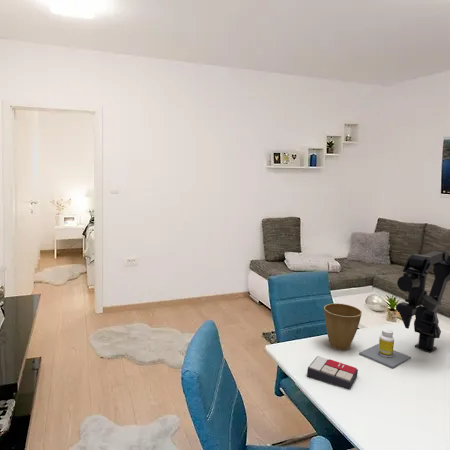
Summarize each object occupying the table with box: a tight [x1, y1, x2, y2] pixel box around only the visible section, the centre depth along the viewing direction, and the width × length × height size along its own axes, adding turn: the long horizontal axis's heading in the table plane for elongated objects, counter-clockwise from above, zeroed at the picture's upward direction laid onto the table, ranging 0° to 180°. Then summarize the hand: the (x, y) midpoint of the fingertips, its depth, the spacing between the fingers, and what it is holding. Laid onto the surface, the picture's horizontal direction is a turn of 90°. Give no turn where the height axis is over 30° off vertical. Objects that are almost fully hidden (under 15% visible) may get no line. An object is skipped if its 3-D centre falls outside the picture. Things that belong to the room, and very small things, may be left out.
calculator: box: [306, 355, 359, 391], centre depth 138 cm, size 11×4×15 cm
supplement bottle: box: [378, 328, 395, 357], centre depth 154 cm, size 5×5×10 cm
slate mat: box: [359, 343, 412, 370], centre depth 154 cm, size 14×14×1 cm
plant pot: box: [323, 302, 362, 351], centre depth 161 cm, size 15×15×16 cm
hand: (412, 325), depth 153 cm, fingers open, 9 cm apart
